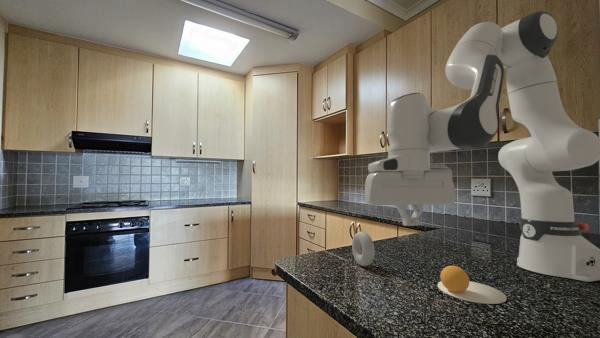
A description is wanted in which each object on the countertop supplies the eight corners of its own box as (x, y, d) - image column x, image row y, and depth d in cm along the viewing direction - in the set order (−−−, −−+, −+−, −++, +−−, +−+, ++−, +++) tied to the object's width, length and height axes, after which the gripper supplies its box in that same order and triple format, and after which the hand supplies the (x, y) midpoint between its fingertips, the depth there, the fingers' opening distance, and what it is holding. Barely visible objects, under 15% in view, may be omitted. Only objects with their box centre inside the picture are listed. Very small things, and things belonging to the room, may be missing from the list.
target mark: (474, 279, 66) (474, 278, 66) (523, 302, 53) (523, 301, 53) (426, 281, 64) (426, 280, 64) (464, 305, 51) (464, 304, 51)
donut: (377, 270, 72) (376, 234, 73) (366, 271, 71) (365, 234, 72) (359, 260, 82) (359, 228, 83) (350, 261, 81) (349, 229, 82)
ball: (442, 258, 61) (431, 279, 61) (458, 265, 56) (446, 288, 55) (462, 270, 61) (451, 291, 61) (480, 278, 56) (468, 301, 55)
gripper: (442, 165, 63) (444, 222, 62) (361, 165, 61) (362, 224, 60) (460, 163, 57) (463, 226, 56) (371, 162, 55) (372, 228, 54)
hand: (410, 225), depth 58 cm, fingers closed
